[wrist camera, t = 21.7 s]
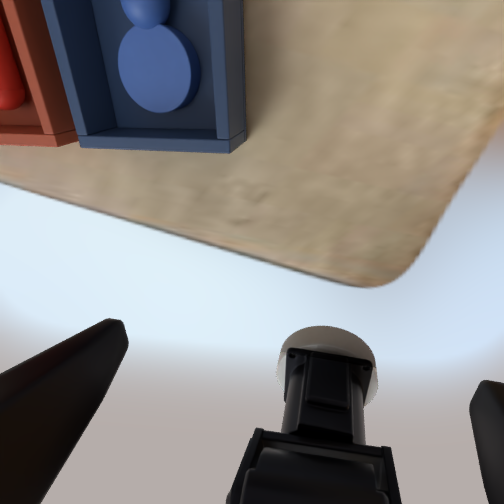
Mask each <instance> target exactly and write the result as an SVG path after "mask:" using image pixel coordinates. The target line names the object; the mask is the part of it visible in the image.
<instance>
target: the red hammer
mask: <svg viewBox="0 0 504 504" xmlns="http://www.w3.org/2000/svg"><path fill="white" fill-rule="evenodd" d="M24 101H25V89H24V86H23V83H22V80H21V77H20V74H19V71H18V68H17V65H16V62H15V59H14V56H13V53H12V50H11V46H10V43H9V40H8V37H7V34H6V31H5V28H4V25H3V22H2V19H1V16H0V110H6V111H8V110H15V109H17V108H19V107H20V106H21V105H22V104H23V103H24Z"/></svg>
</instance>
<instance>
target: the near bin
mask: <svg viewBox="0 0 504 504" xmlns="http://www.w3.org/2000/svg"><path fill="white" fill-rule="evenodd" d="M41 4H42V7H43V11H44V15H45V18H46V22H47V26H48V29H49V33H50V37H51V40H52V44H53V48H54V51H55V55H56V59H57V62H58V66H59V70H60V73H61V77H62V81H63V84H64V88H65V92H66V95H67V99H68V103H69V106H70V110H71V114H72V117H73V121H74V125H75V128H76V132H77V135H79V136H78V139H79V143H80V147H81V148H98V149H124V150H150V151H176V152H202V153H228V154H229V153H231V152H232V151H234V150H235V149H236V148H238V147H239V146H240V145H241V144H243V143H244V142H245V141H246V140H247V139H246V99H245V60H244V21H243V0H170V13H169V17H168V19H167V21H166V23H165V25H169V26H172V27H174V28H176V29H178V30H179V31H180V32H182V33H183V34H184V35H185V36H186V37H187V38H188V39H189V41H190V42H191V43H192V45H193V47H194V49H195V51H196V53H197V56H198V59H199V63H200V72H201V76H200V84H199V88H198V91H197V93H196V95H195V97H194V98H193V100H192V101H191V102H190V103H189V104H188V105H187V106H185V107H183V108H181V109H179V110H175V111H172V112H168V113H154V112H151V111H148V110H146V109H144V108H142V107H141V106H140V105H138V104H137V103H136V102H135V101H134V100H133V99H132V98H131V97H130V95H129V94H128V93H127V91H126V89H125V87H124V85H123V83H122V80H121V78H120V74H119V69H118V52H119V47H120V44H121V41H122V39H123V37H124V36H125V34H126V33H127V32H128V31H129V29H131V28H132V27H133V26H135V25H134V24H133V23H132V22H131V21H130V20H129V19H128V17H127V16H126V14H125V12H124V10H123V8H122V5H121V1H120V0H41Z"/></svg>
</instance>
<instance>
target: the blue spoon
mask: <svg viewBox="0 0 504 504" xmlns="http://www.w3.org/2000/svg"><path fill="white" fill-rule="evenodd" d="M120 1H121V5H122V8H123V10H124V12H125V14H126V16H127V17H128V19H129V20H130V21H131V22H132V23H133V24H134V25H135V26H133V27H132V28H131V29H129V31H128V32H127V33H126V34H125V36H124V37H123V39H122V41H121V44H120V47H119V52H118V69H119V74H120V78H121V80H122V83H123V85H124V87H125V89H126V91H127V93H128V94H129V95H130V97H131V98H132V99H133V100H134V101H135V102H136V103H137V104H138V105H140V106H141V107H142V108H144V109H146V110H148V111H151V112H154V113H168V112H172V111H175V110H179V109H181V108H183V107H185V106H187V105H188V104H189V103H190V102H191V101H192V100H193V98H194V97H195V95H196V93H197V91H198V88H199V84H200V76H201V72H200V63H199V59H198V56H197V53H196V51H195V49H194V47H193V45H192V43H191V42H190V41H189V39H188V38H187V37H186V36H185V35H184V34H183V33H182V32H180V31H179V30H178V29H176V28H174V27H172V26H169V25H165V23H166V21H167V19H168V17H169V13H170V0H120Z"/></svg>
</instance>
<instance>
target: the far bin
mask: <svg viewBox="0 0 504 504" xmlns="http://www.w3.org/2000/svg"><path fill="white" fill-rule="evenodd" d="M0 16H1V19H2V22H3V25H4V28H5V31H6V34H7V37H8V40H9V43H10V46H11V50H12V53H13V56H14V59H15V62H16V65H17V68H18V71H19V74H20V77H21V80H22V83H23V86H24V89H25V101H24V103H23V104H22V105H21V106H20V107H19V108H17V109H15V110H8V111H6V110H0V145H19V146H45V147H59V146H63V145H66V144H70V143H73V142H77V141H79V139H78V136H79V135H77V132H76V128H75V125H74V121H73V117H72V114H71V110H70V106H69V103H68V99H67V95H66V92H65V88H64V84H63V81H62V77H61V73H60V70H59V66H58V62H57V59H56V55H55V51H54V48H53V44H52V40H51V37H50V33H49V29H48V26H47V22H46V18H45V15H44V11H43V7H42V4H41V0H0Z"/></svg>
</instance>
